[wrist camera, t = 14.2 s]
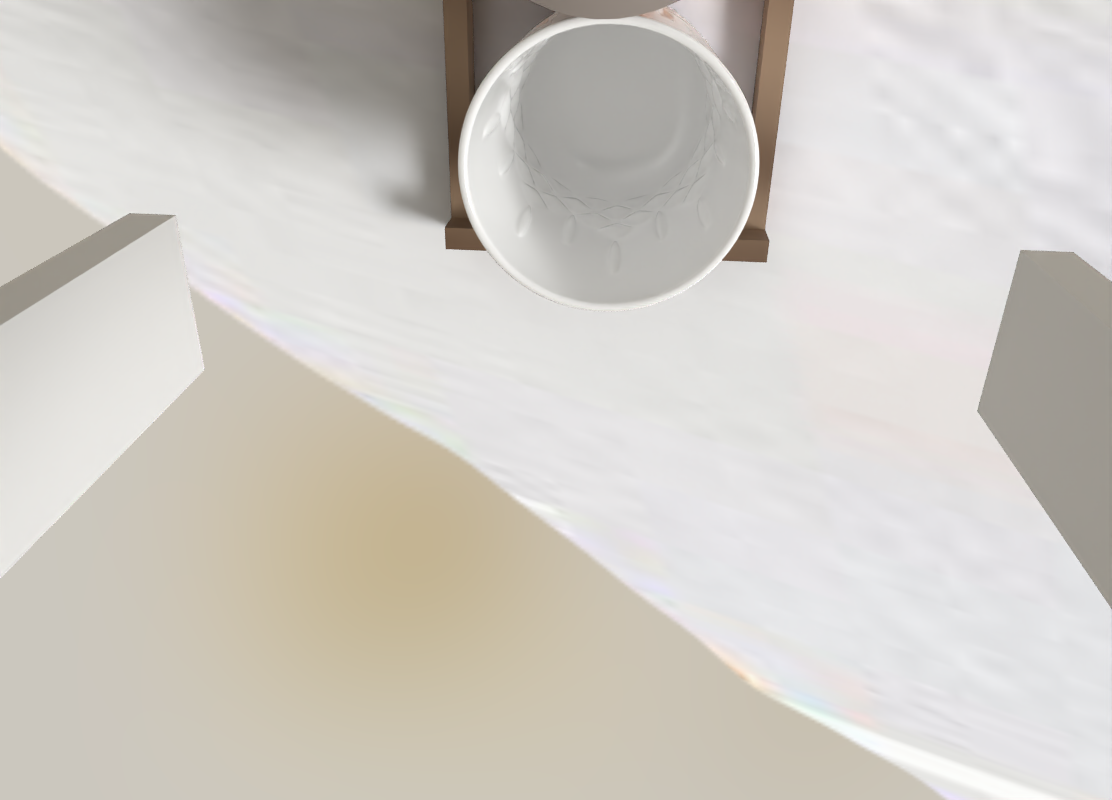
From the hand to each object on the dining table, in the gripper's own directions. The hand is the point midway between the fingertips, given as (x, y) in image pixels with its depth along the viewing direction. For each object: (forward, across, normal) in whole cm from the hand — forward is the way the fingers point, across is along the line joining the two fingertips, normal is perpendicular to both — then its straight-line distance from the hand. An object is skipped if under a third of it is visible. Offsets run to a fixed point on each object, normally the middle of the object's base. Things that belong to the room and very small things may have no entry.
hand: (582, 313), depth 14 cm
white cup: (+20, 0, 0) cm, 21 cm away
